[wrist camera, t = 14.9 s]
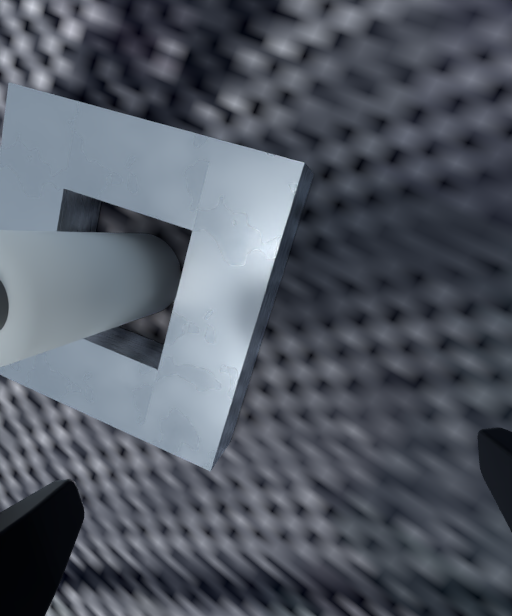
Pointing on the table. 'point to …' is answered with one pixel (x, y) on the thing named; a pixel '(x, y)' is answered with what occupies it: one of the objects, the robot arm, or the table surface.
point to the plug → (78, 286)
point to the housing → (196, 272)
